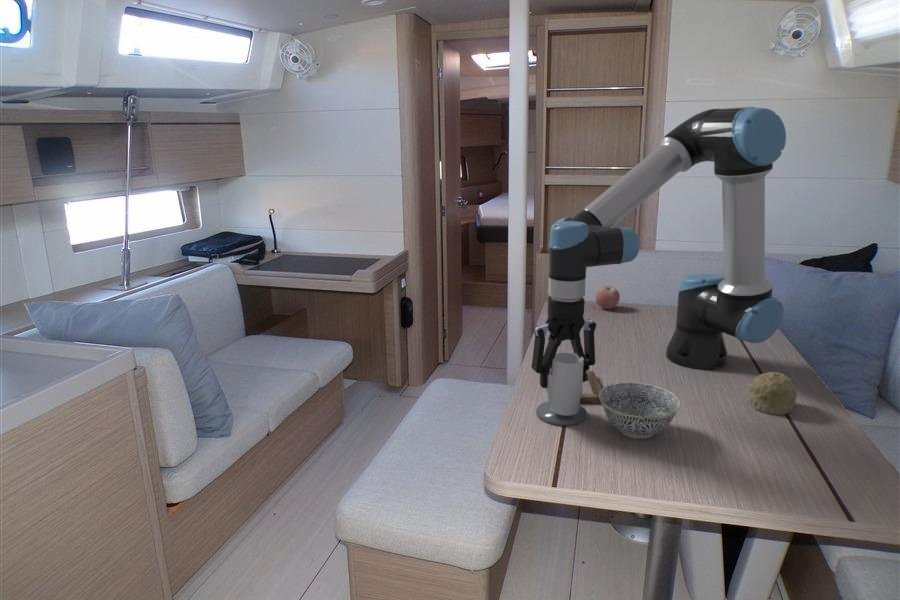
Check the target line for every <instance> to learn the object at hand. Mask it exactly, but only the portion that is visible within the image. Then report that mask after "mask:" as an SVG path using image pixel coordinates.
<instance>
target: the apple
mask: <svg viewBox="0 0 900 600" xmlns="http://www.w3.org/2000/svg"><path fill="white" fill-rule="evenodd" d="M595 302H596V304H597V305H598V306H599V307H600V308H602V309H605V310H611V309H614V308H615V307H616V306H617V305H618V304H619V302H620V293H619V291H618V289H617V288H616V287H615V286H612V285H604V286H601V287H599V288H598V289H597V291H596V294H595Z"/></svg>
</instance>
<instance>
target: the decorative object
mask: <svg viewBox="0 0 900 600" xmlns="http://www.w3.org/2000/svg"><path fill="white" fill-rule="evenodd" d="M797 391H798V389H797V386H796V385H795V384H794V383H793V381H792V380H791V378H790V377H789V376H787V375H786V374H784V373H781V372H778V371H777V372H776V371H775V372H773V371H768V372H766V373H760V374H758V375H757V376H755V377H754V379H752V381H751V382H750V384H749V387H748V394H747V399H746V401H747V404H748V405H749V406H750V407H751V408H752V409H754V410H756V411H758V412H761V413H763V414H769V415H775V416H776V415H777V416H779V415H781V416H782V415H786V414H789V413H790V414H791V412H792V408H793V407H794V406H795V404H796V403H795V402H796V401H797Z"/></svg>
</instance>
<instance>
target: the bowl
mask: <svg viewBox="0 0 900 600" xmlns="http://www.w3.org/2000/svg"><path fill="white" fill-rule="evenodd" d="M601 389H602V390H601V391H600V392H599V400H600V401H601V403H600V404H601V405H602V408H603V410H604V413H605V416H606V418H607V420H608V421H609V422H610V423H611V424H612V425H613V426H614V427H615V428H617V429H618V430H619V432H620V433H621V434H622V435H624V436H626V437H629V438H632V439H636V440H638V439H640V440H644V439H649V438H652V437H653V436H654V435H655V434H658V433H660V432H662V431H665V429H666V428H667V427H668V426H669V425H670V423H671V422H672V421H673V419H674V418H675V415H676V413H677V412H678V411H679V410H680V408H681V399H680V398H679V397H678V396H677V395H676V394H674V393H673V392H671V391H670V390H668V389H665V388H663V387H660V386H657V385H653V384H649V383H645V382H634V381H623V382H617V383H611V384H609V385H606V386H604V387H602V388H601Z"/></svg>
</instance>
